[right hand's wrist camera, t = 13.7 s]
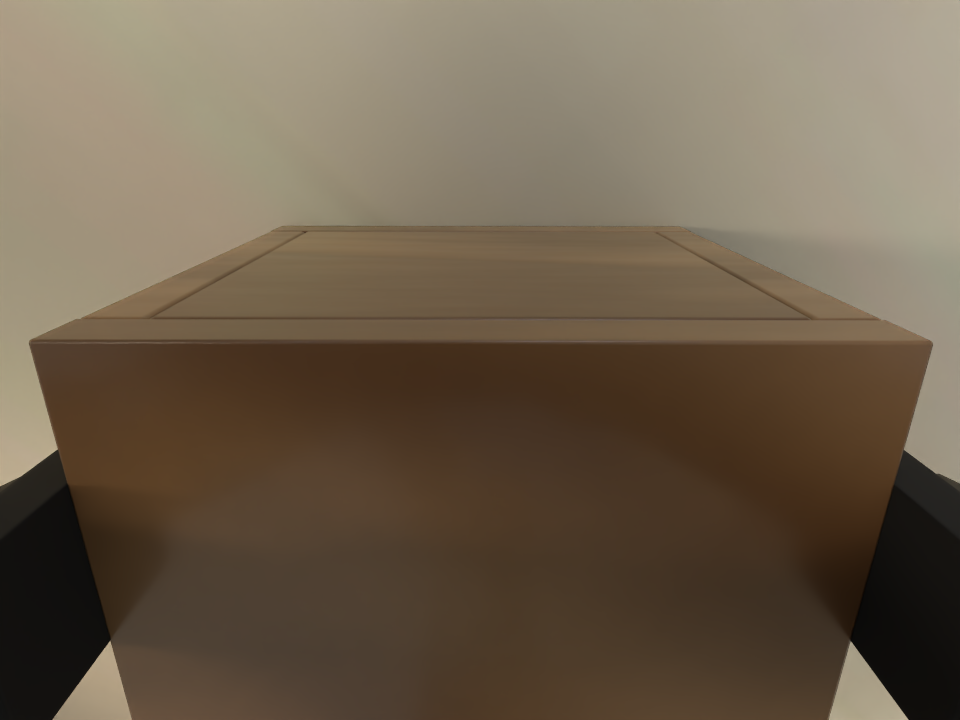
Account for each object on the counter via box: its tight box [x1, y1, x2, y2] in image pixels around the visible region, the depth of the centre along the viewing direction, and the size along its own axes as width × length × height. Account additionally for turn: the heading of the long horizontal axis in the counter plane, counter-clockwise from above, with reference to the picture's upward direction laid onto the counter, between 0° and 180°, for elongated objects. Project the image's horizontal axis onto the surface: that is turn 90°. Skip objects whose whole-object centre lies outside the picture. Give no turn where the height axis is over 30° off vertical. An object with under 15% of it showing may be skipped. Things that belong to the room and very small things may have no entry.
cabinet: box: [29, 226, 933, 720], centre depth 15 cm, size 19×11×10 cm, turn 0°
